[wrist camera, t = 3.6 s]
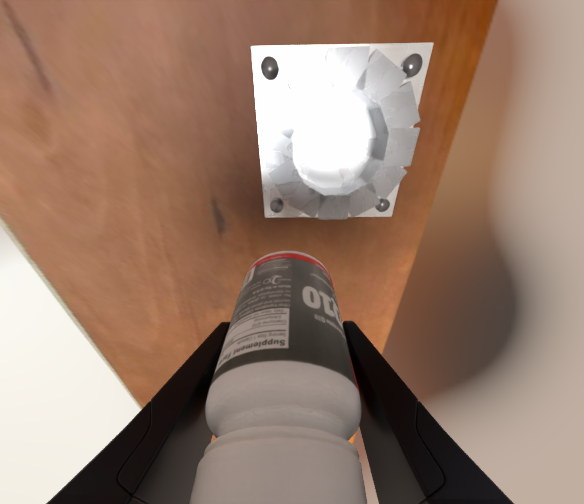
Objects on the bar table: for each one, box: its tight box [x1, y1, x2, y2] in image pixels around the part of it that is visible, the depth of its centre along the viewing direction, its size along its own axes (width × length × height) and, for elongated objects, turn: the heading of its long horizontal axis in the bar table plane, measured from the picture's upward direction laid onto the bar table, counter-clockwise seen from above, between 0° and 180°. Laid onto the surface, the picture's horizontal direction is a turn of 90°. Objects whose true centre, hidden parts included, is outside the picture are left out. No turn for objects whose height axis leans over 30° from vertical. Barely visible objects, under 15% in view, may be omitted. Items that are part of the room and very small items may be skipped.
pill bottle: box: [189, 251, 367, 504], centre depth 8 cm, size 5×5×8 cm
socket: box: [251, 43, 434, 219], centre depth 16 cm, size 12×12×3 cm
